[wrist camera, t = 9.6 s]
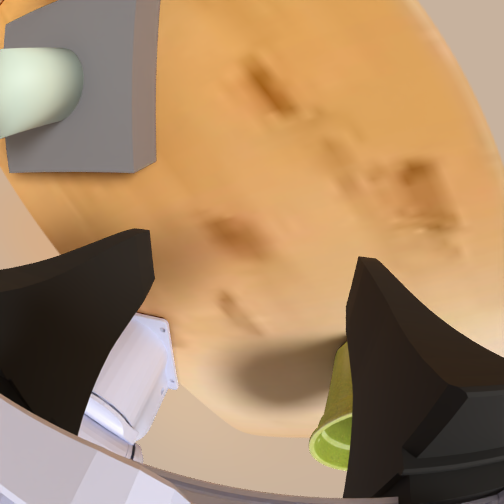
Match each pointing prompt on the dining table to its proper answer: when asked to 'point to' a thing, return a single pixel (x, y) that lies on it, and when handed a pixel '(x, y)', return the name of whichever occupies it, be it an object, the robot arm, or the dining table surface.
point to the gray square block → (94, 87)
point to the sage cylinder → (37, 87)
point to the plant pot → (335, 417)
